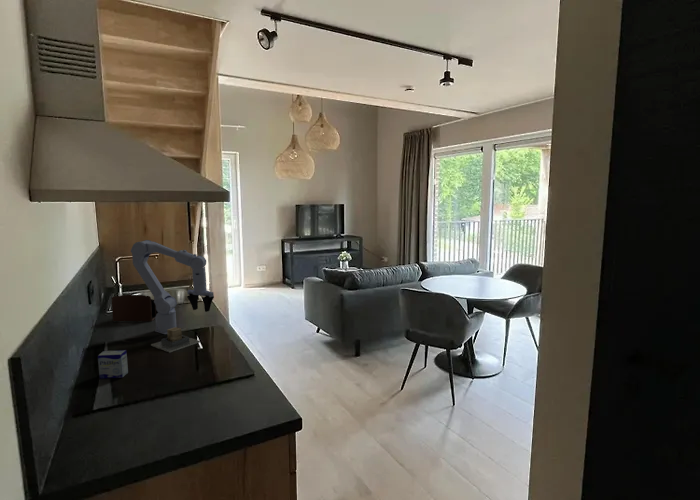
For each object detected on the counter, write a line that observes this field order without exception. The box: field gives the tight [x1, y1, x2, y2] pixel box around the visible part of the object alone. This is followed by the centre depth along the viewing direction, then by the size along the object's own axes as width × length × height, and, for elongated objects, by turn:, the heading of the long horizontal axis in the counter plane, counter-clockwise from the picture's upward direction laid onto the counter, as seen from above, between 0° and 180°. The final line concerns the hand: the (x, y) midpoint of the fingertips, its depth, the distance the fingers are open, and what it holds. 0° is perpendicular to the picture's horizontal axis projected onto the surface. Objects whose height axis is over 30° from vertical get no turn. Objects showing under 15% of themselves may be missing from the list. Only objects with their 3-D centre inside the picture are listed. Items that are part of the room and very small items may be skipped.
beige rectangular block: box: [166, 327, 183, 341], centre depth 169 cm, size 4×4×6 cm
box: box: [97, 349, 129, 380], centre depth 138 cm, size 8×4×9 cm, turn 95°
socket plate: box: [150, 334, 201, 353], centre depth 169 cm, size 14×14×3 cm
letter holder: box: [111, 294, 158, 323], centre depth 207 cm, size 10×20×14 cm, turn 92°
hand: (201, 310), depth 187 cm, fingers open, 7 cm apart
